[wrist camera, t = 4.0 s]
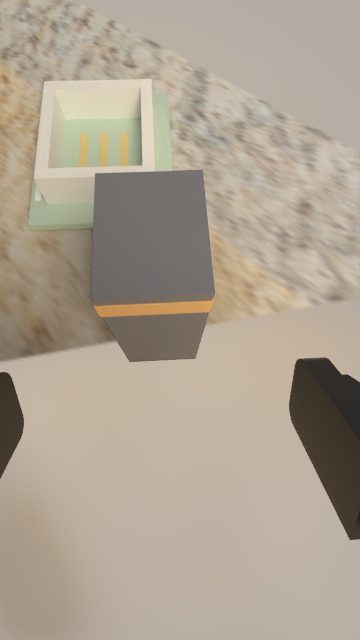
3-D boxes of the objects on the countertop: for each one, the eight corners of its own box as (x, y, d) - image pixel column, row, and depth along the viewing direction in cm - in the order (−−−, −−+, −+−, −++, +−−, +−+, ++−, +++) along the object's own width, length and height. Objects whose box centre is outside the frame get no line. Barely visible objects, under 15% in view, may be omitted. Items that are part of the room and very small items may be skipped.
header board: (31, 230, 23) (11, 202, 20) (44, 104, 27) (29, 64, 24) (175, 225, 23) (175, 196, 20) (167, 101, 27) (167, 62, 24)
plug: (128, 362, 20) (89, 299, 11) (128, 286, 22) (93, 172, 12) (196, 359, 20) (216, 293, 11) (190, 283, 22) (203, 168, 12)
